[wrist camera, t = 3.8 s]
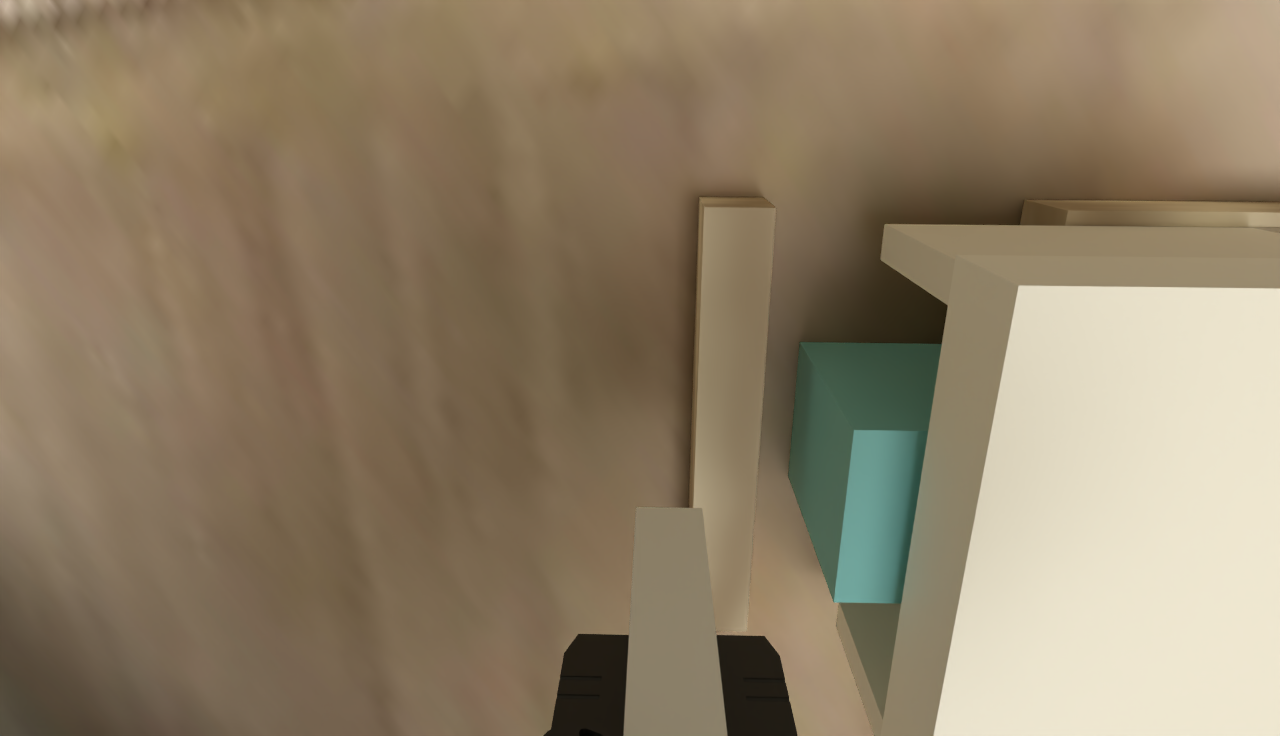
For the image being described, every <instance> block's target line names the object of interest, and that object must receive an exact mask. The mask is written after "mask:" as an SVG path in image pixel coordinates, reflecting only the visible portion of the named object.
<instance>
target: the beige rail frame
mask: <svg viewBox="0 0 1280 736" xmlns="http://www.w3.org/2000/svg"><path fill="white" fill-rule="evenodd" d="M775 221H776V207H775V206H774V205H772V204H771V203H770V202H769V201H767V200H766V199H765V198H764V197H699V218H698V248H697V278H696V307H695V337H694V367H693V397H692V427H691V456H690V486H689V508H702V510H703V519H704V528H705V537H706V546H707V555H708V564H709V573H710V582H711V591H712V600H713V610H714V619H715V628H716V631H736V632H747V623H748V609H749V594H750V580H751V566H752V551H753V537H754V523H755V508H756V494H757V479H758V465H759V451H760V436H761V422H762V408H763V393H764V379H765V365H766V350H767V336H768V322H769V307H770V293H771V278H772V264H773V250H774V235H775ZM1020 225H1036V226H1139V227H1243V228H1256V229H1261V230H1266V231H1271V232H1276V233H1280V202H1213V201H1102V200H1024V205H1023V210H1022V216H1021V221H1020Z"/></svg>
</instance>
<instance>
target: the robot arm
mask: <svg viewBox="0 0 1280 736" xmlns="http://www.w3.org/2000/svg"><path fill="white" fill-rule="evenodd" d="M544 736H797V731H796V727H795V722H794V718H793V713H792V709H791V704H790V702H789V695H788V691H787V686H786V683H785V677H784V673H783V668H782V664H781V660H780V656H779V654H778V653H777V652H776V651H775V649H774V648H773V647H772V645H771V644H770V643H769V642H768V640H767V639H766V638H765V636H733V635H716V628H715V619H714V610H713V600H712V591H711V582H710V573H709V564H708V555H707V546H706V537H705V528H704V519H703V510H702V508H664V507H636V517H635V535H634V553H633V572H632V590H631V608H630V626H629V635H601V634H578V635H577V637H576V638H575V639H574V641H573V642H572V643H571V645H570V646H569V647H568V649H567V650H566V652H565V653H564V658H563V663H562V669H561V675H560V681H559V687H558V692H557V699H556V704H555V710H554V716H553V721H552V727H551V730H549V731H548V732H547V733H546V734H545V735H544Z"/></svg>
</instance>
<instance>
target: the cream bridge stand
mask: <svg viewBox="0 0 1280 736" xmlns="http://www.w3.org/2000/svg"><path fill="white" fill-rule="evenodd" d="M880 260H881V261H883V262H884V263H886V264H887V265H889V266H890V267H892V268H893V269H895V270H896V271H898V272H899V273H901V274H902V275H903V276H905V277H906V278H908V279H909V280H911V281H912V282H914V283H915V284H917V285H918V286H920V287H921V288H923V289H924V290H926V291H927V292H929V293H930V294H932V295H933V296H935V297H936V298H938V299H939V300H941V301H942V302H943V303H945V304H946V305H948V308H947V315H946V321H945V327H944V334H943V340H942V346H941V353H940V359H939V366H938V372H937V378H936V385H935V391H934V398H933V404H932V410H931V417H930V423H929V430H928V436H927V442H926V449H925V455H924V461H923V468H922V474H921V481H920V487H919V493H918V500H917V506H916V513H915V519H914V525H913V532H912V538H911V545H910V551H909V557H908V564H907V570H906V576H905V583H904V589H903V596H902V602H901V604H894V603H842V602H839V605H838V614H837V622H836V627H837V630H838V633H839V636H840V639H841V642H842V645H843V648H844V650H845V653H846V656H847V659H848V662H849V665H850V668H851V671H852V674H853V676H854V679H855V682H856V685H857V688H858V691H859V694H860V697H861V700H862V702H863V705H864V708H865V711H866V714H867V717H868V720H869V723H870V726H871V728H872V731H873V734H874V736H1280V233H1276V232H1271V231H1266V230H1261V229H1256V228H1243V227H1139V226H1036V225H932V224H885V225H884V233H883V242H882V250H881V258H880Z"/></svg>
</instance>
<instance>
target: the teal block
mask: <svg viewBox="0 0 1280 736" xmlns="http://www.w3.org/2000/svg"><path fill="white" fill-rule="evenodd" d="M941 346H942V344H911V343H833V342H800V344H799V356H798V368H797V379H796V391H795V403H794V414H793V426H792V438H791V449H790V461H789V472H788V477H789V479H790V482H791V485H792V488H793V491H794V493H795V496H796V499H797V502H798V504H799V507H800V510H801V513H802V516H803V518H804V521H805V524H806V527H807V529H808V532H809V535H810V538H811V541H812V543H813V546H814V549H815V552H816V554H817V557H818V560H819V563H820V566H821V568H822V571H823V574H824V577H825V579H826V582H827V585H828V588H829V591H830V593H831V596H832V599H833V602H842V603H894V604H901V602H902V596H903V589H904V583H905V576H906V570H907V564H908V557H909V551H910V545H911V538H912V532H913V525H914V519H915V513H916V506H917V500H918V493H919V487H920V481H921V474H922V468H923V461H924V455H925V449H926V442H927V436H928V430H929V423H930V417H931V410H932V404H933V398H934V391H935V385H936V378H937V372H938V366H939V359H940V353H941Z"/></svg>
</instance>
